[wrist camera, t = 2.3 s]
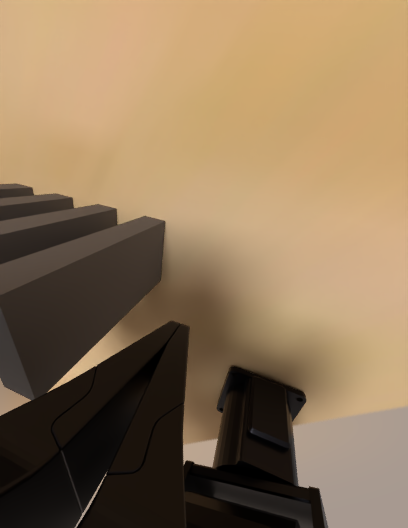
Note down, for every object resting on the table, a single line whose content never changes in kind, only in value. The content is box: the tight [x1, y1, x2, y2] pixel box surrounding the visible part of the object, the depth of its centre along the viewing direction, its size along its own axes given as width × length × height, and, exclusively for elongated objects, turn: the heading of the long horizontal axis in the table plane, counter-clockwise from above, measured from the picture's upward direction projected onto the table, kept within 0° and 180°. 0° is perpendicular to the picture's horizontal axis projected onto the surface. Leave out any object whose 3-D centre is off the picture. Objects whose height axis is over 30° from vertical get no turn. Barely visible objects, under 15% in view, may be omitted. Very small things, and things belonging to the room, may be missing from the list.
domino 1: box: [0, 216, 165, 400], centre depth 11 cm, size 5×2×10 cm, turn 170°
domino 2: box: [0, 204, 117, 264], centre depth 12 cm, size 5×2×10 cm, turn 170°
